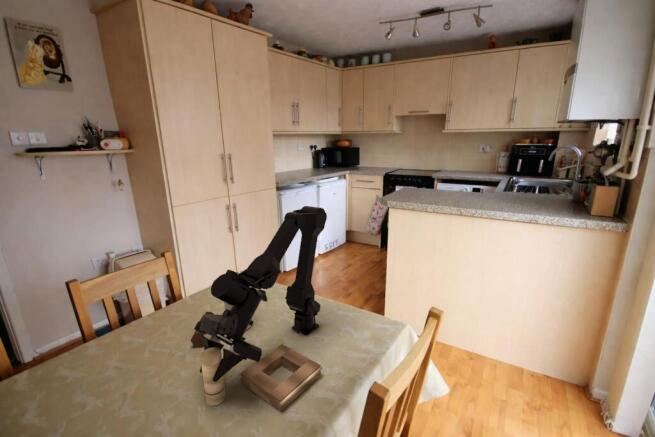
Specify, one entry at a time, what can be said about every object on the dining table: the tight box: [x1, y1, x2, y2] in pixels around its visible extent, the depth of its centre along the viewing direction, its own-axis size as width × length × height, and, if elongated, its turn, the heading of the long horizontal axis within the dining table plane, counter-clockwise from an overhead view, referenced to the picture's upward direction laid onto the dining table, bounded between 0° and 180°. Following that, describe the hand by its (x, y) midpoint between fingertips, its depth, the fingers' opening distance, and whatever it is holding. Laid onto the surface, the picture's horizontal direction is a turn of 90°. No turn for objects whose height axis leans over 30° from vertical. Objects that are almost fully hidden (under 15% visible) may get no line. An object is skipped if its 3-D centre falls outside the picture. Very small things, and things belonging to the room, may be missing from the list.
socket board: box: [238, 343, 323, 412], centre depth 78 cm, size 14×15×3 cm
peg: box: [199, 347, 227, 407], centre depth 71 cm, size 4×4×12 cm
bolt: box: [190, 311, 215, 349], centre depth 98 cm, size 6×5×15 cm
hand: (207, 377), depth 70 cm, fingers closed on peg, 4 cm apart
